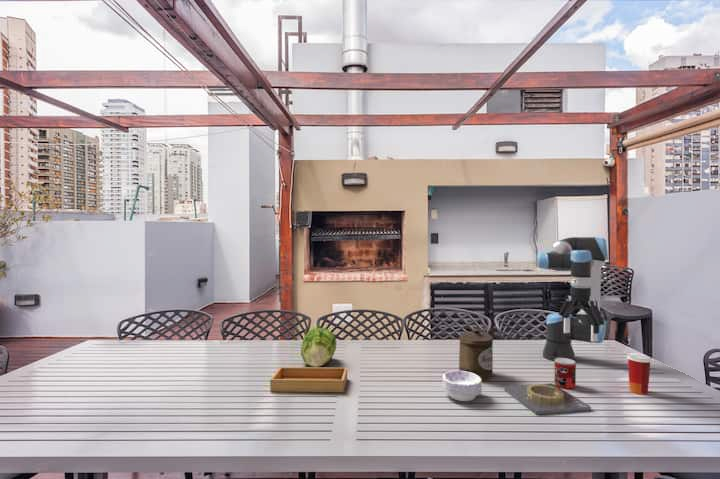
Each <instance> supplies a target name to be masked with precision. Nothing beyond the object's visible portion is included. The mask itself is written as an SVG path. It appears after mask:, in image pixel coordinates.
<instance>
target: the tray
mask: <svg viewBox="0 0 720 479" xmlns="http://www.w3.org/2000/svg"><path fill="white" fill-rule="evenodd" d="M347 382H348V367H322V366H319V367H313V366H310V367H309V366H306V367H305V366H304V367H302V366H301V367H300V366H280V367H279V368H278V369H277V371H276V372H275V373H274V374H273V376H272V377H271V378H270V381H269V387H270V388H269V390H270V392H283V393H285V392H288V393H289V392H291V393H293V392H294V393H297V392H298V393H299V392H301V393H345V389H346V386H347Z"/></svg>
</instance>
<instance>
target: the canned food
mask: <svg viewBox="0 0 720 479" xmlns="http://www.w3.org/2000/svg"><path fill="white" fill-rule="evenodd" d="M576 363H577V362H576V360H575V361H574V360H571V359H567V358H556V359H555V361H554V385H556V386H557V387H559V388H561V389H562V390H574V389H575V388H576V380H577V379H576V378H577V376H576V375H577V374H576V372H577V371H576V370H577V366H576V365H577V364H576Z"/></svg>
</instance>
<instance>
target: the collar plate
mask: <svg viewBox="0 0 720 479" xmlns="http://www.w3.org/2000/svg"><path fill="white" fill-rule="evenodd" d="M503 388H504V389H503V391H505V392H506V393H508V394H509V395H510V396H511V398H512V397H513V398H514V399H515V400H516V401H517V402H519V404H522V405H523V407H525V408H527V409H528V410H529V411H531V412H532V413H533V414H534V415H535V416H542V415H554V414H565V413H567V414H569V413H577V412H578V413H579V412H591V411H592V406H591V405H589V404H587V403H586V402H584V401H582V400H580V399H579V398H577V397H576V396H574V395H572V394H571V393H569V392H567V390H566V391H565V389H563V388H559V387H557V386H556V385H555V383H551V382H550V383H537V384H523V385H522V384H521V385H510V386H509V385H508V386H507V385H506V386H504V387H503Z"/></svg>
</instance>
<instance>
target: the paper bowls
mask: <svg viewBox="0 0 720 479" xmlns="http://www.w3.org/2000/svg"><path fill="white" fill-rule="evenodd" d="M482 383H483V381H482V380H481V378H480V377H479V376H478V375H476V374H474V373H471V372H467V371H459V370H450V371H447V372H445V373H443V374H442V390H443V391H444V392H445V393H447V394H448V396H449V398H452V399H453V400H456V401H460V402H470V401H473V400H474V399H475V398H476V397H477V396H479V395H481V393H482V390H483V387H482V386H483V385H482Z"/></svg>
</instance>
